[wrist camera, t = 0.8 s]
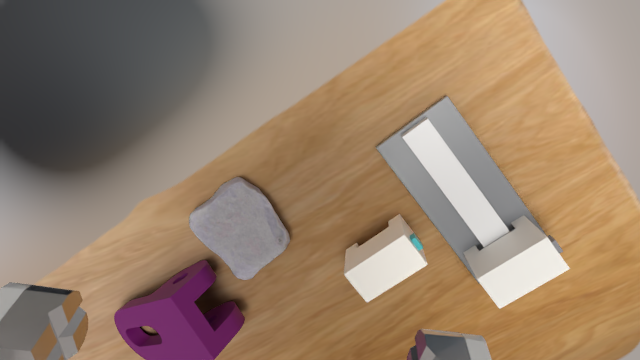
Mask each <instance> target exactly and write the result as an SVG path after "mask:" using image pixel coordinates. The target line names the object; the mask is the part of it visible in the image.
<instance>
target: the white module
mask: <svg viewBox="0 0 640 360" xmlns="http://www.w3.org/2000/svg"><path fill="white" fill-rule="evenodd" d="M388 224H389V227H388V228H386V229H385V230H383V231H382V232H380V233H379V234H377V235H376V236H374V237H373V238H371V239H370V240H368V241H367V242H365V243H364V244H362V245H361V246H359V245H358V244H357V243H355V244H354V245H352V246H351V247H349V248H348V249H346V255H345V266H344V275H345V277H346V278H347V279H348V280H349V282H350V283H351V284H352V285H353V286H354V288H355V289H356V290H357V291H358V293H359V294H360V295H361V296H362V297H363V299H364V300H365V301H366V302H369V301H371V300H372V299H374V298H375V297H377V296H379V295H380V294H382V293H383V292H385V291H387V290H388V289H390V288H391V287H393V286H394V285H396V284H398V283H399V282H401V281H402V280H404V279H406V278H407V277H409V276H410V275H412V274H414V273H415V272H417V271H418V270H420V269H422V268H423V267H425V266H426V265H428V264H427V261H426V257H425V254H424V251H423V245H422V243H421V241H420V240H419V238H418V237H417V236H416V235H415V233H414V232H413V231H412V229H411V228H410V227H409V226H408V224H407V223H406V222H405V220H404V219H403V218H402V216H401V215H400V214H398V215H397V216H395V217H394V218H392V219H391V220H389V221H388Z"/></svg>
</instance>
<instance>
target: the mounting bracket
mask: <svg viewBox="0 0 640 360" xmlns="http://www.w3.org/2000/svg"><path fill="white" fill-rule="evenodd" d="M216 277H217V276H216V274H215V273H214V271H213V270H212V268H211V267H210V265H209V264H208V262H207V261H206V260H202V261H199V262H197V263H195V264H193V265H191V266H190V267H188V268H186V269H184V270H182V271H181V272H179V273H178V274H176V275H175V276H173V277H172V278H171V279H169V280H168V281H167V282H166V283H164V284H163V285H162V286H161V287H160V288H159V289H157V290H156V291H155V292H154V293H152V294H150V295H148V296H145V297H141V298H137V299H134V300H130V301H129V302H128V303H126V304H125V305H124V306H123V307H122V308H120V309H119V310H118V311H117V312H116V313H115V316H114V319H115V324H116V327H117V329H118V331H119V333H120V334H121V336H122V337H123V339H124V340H125V341H126V343H127V344H128V345H129V346H130V347H131V348H132V349H133V350H134V351H135V352H136V353H137V354H139V355H140V356H141V357H143V358H144V359H146V360H214V359H215V358H216V357H217V356H218V355H219V353H220V352H221V351H222V350H223V349H224V348H225V346H226V345H227V344H228V343H229V342H230V341H231V339H232V338H233V337H234V336H235V335H236V334H237V332H238V331H239V330H240V329H241V327H242V325H243V323H244V321H245V318H244V316H243V314H242V313H241V311H240V310H239V308H238V307H237V305H236V304H235V302H233V301H228V302H225V303H223V304H221V305H219V306H217V307H215V308H213V309H211V310H210V311H208V312H207V313H205V314H204V315H203V314H202V313H201V311H200V310H199V308H198V307H197V306H196V304H195V303H194V301H195V300H197V299H198V298H199V297H200V296H201V295H202V294H203V293H204V292H205V291H206V290H207V289H208V288H209V287H210V286H211V285H212V284H213V283H214V281H215V280H216ZM141 326H150V327H152V328H153V329H155V330H156V331H157V332H158V334H159V335H156V336H149V335H147V334H146V333H144V332H143V331H142V330H141V328H140V327H141Z"/></svg>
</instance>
